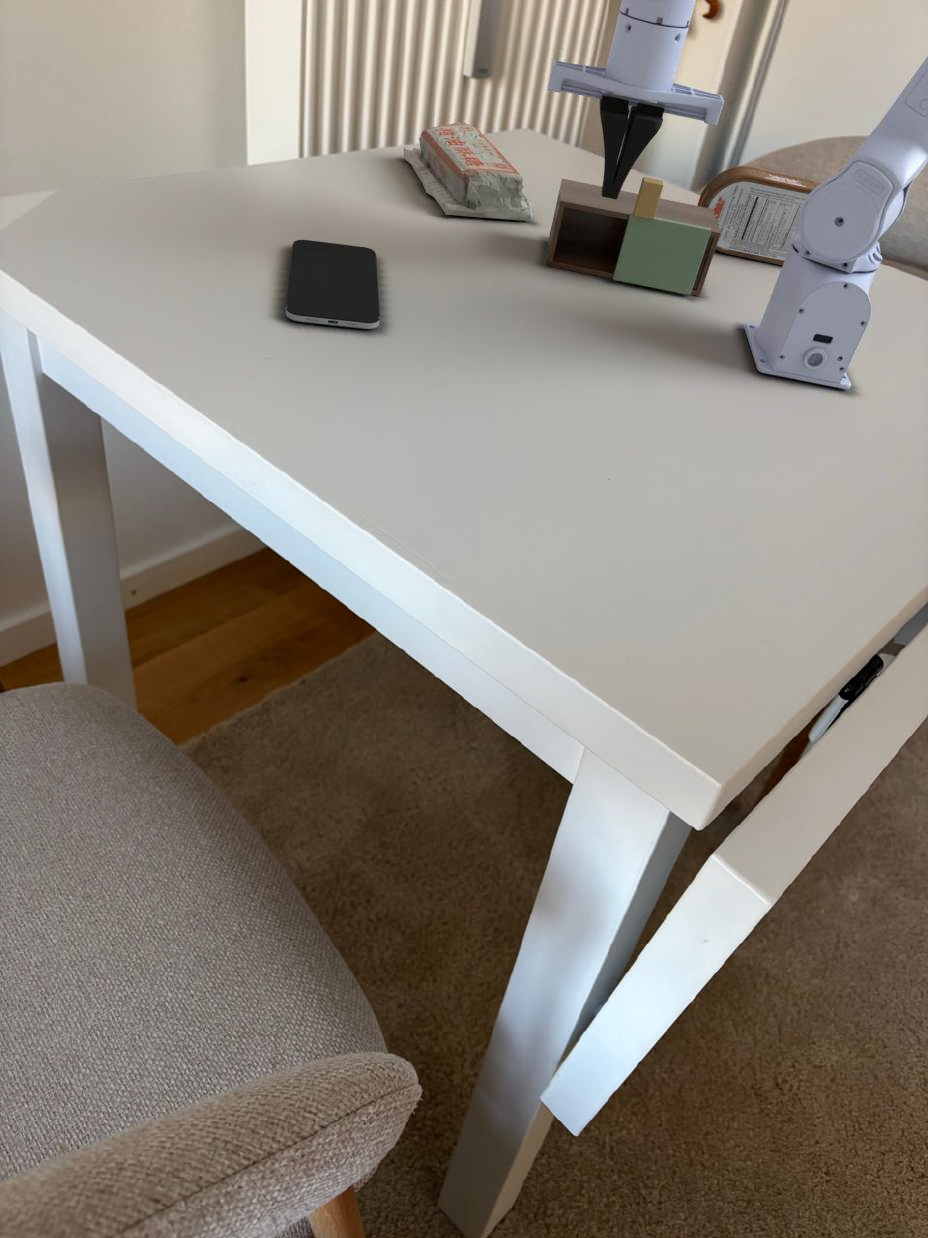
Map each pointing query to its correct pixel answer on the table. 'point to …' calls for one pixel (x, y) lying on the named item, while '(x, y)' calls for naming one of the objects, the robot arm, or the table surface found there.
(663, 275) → the sliding door
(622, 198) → the cupboard
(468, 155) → the packaged product
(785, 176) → the tin
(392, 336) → the table surface
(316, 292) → the smartphone
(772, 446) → the table surface
